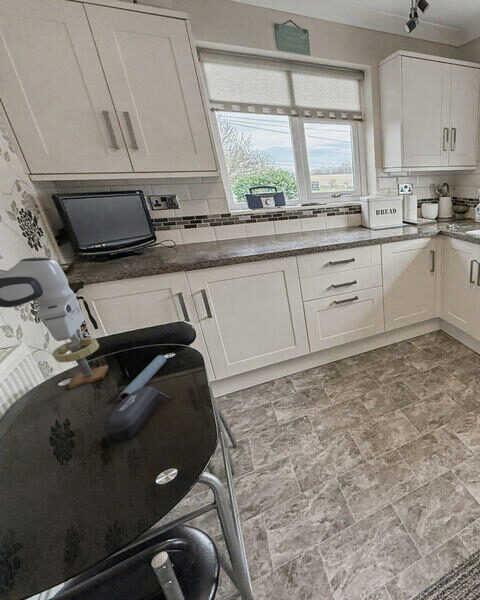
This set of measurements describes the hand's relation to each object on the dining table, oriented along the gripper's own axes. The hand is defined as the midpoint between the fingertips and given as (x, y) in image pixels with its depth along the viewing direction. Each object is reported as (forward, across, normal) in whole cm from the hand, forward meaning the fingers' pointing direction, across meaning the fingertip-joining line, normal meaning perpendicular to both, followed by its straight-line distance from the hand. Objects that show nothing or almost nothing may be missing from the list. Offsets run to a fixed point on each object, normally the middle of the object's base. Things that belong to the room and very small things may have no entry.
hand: (78, 341), depth 113 cm
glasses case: (+13, +45, +18) cm, 50 cm away
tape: (+2, +4, 0) cm, 5 cm away
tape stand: (+12, +5, 0) cm, 13 cm away
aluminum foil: (+13, +20, +16) cm, 28 cm away
